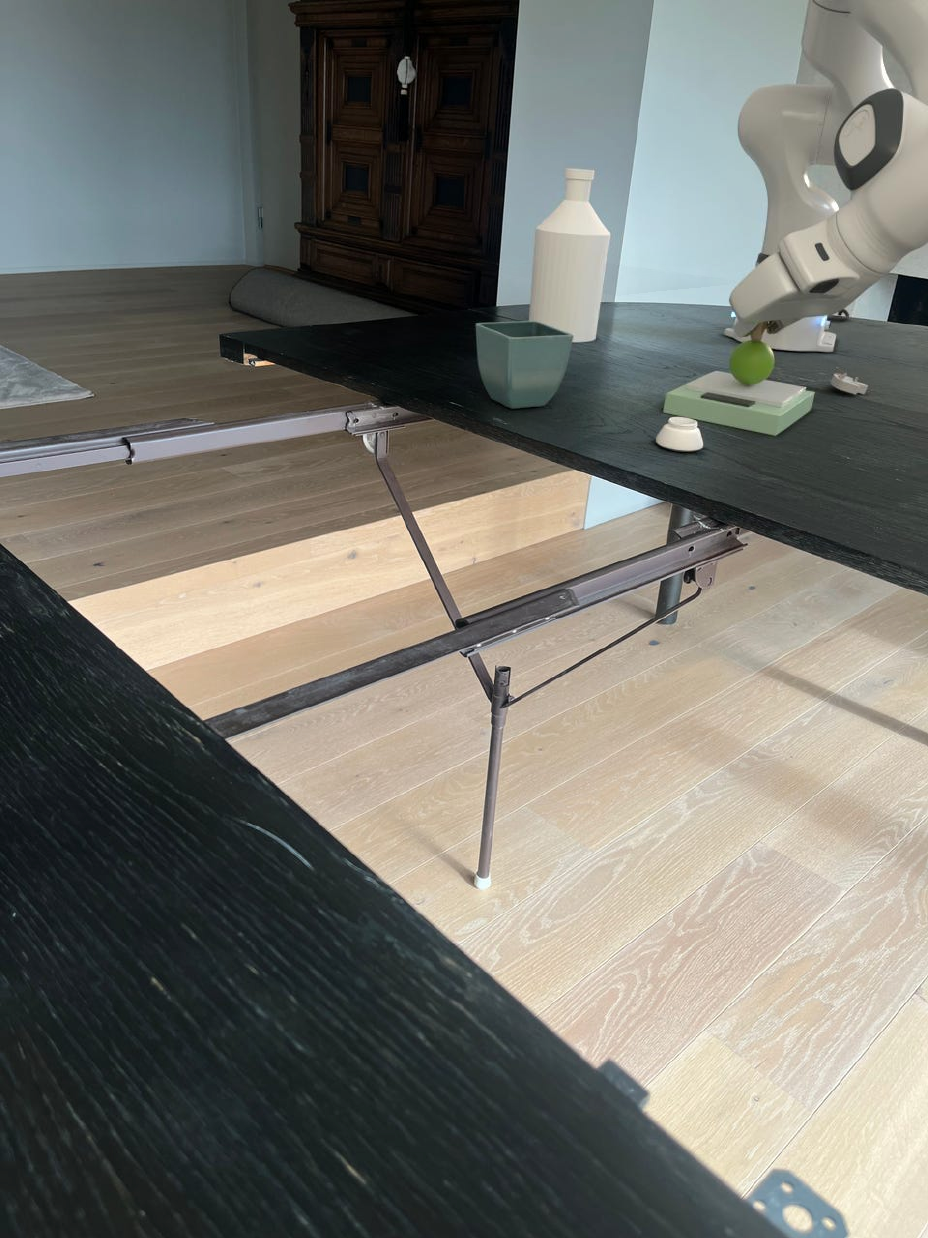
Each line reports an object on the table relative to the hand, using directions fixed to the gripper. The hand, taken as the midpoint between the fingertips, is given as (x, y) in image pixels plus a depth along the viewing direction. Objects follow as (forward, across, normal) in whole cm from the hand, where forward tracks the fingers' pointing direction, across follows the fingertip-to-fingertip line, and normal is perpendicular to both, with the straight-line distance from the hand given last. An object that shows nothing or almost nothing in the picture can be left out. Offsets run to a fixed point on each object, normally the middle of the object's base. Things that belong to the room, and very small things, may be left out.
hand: (753, 330), depth 118 cm
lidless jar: (+1, +21, +13) cm, 25 cm away
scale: (+6, +2, +8) cm, 10 cm away
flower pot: (+17, +26, -3) cm, 31 cm away
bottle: (+38, -11, -25) cm, 47 cm away
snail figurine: (+4, 0, +5) cm, 7 cm away
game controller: (+8, -21, +6) cm, 23 cm away
